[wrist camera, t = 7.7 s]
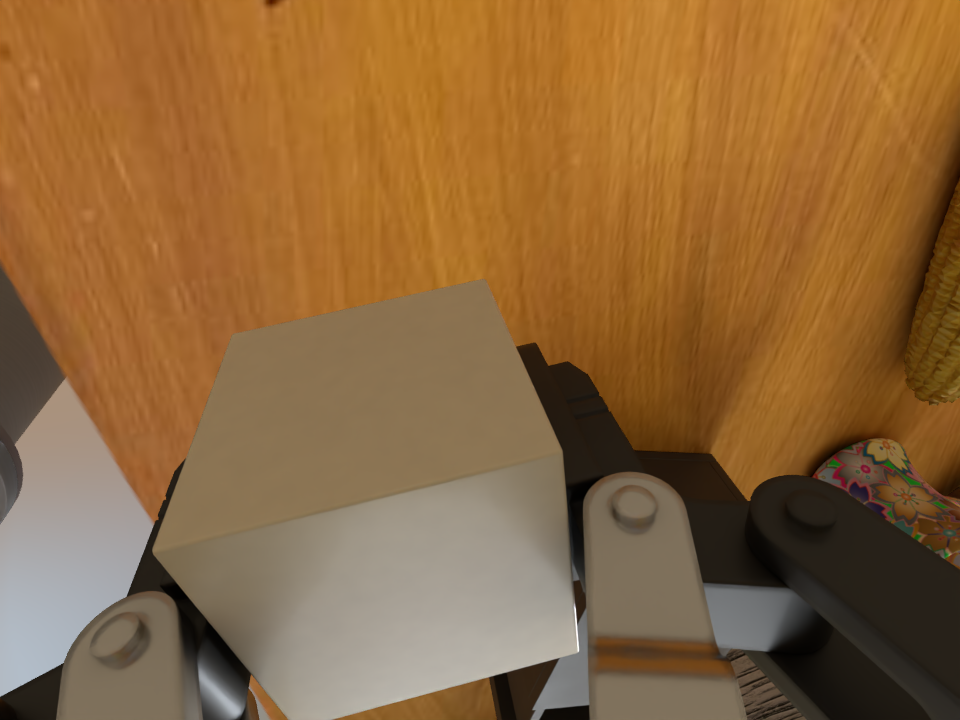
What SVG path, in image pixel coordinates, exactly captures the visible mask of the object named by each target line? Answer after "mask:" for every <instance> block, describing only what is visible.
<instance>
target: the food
mask: <svg viewBox="0 0 960 720" xmlns="http://www.w3.org/2000/svg"><path fill="white" fill-rule="evenodd" d="M933 252H934V257H933V258H932V259H931V260H930V264H931V265H930V266H928V268H929V271H928V272H927V273H926V274H925V275H926V279H925V283H924V284H925V285H924V289H923V292H922V293H921V295H920V297H919V299H918V301H917V302H918V304H917V306H916V308H915V309H916V311H915V313H916V314H915V316H914V318H913V321H912V326H911V334H909V339H908V344H907V349H906V354H905V359H904V362H905V370H904V371H905V374H906V375H907V377H908V378H907V379H906V380H905V382H906V384H907V386H908V387H909V389H912V390H913V391H915V397H916V398H918V399H919V400H921V401H929V405H938V403H942V402H943V403H946V402H947V401H948V400H949V401H950V402H951V403H952V402H954V401H955V400H957V399H958V398H960V179H959V182H958V184H957V186H956V188H955V192H954V195H953V197H952V200H951V202H950V205H949V208H948V211H947V214H946V216H945V218H944V223H943V224H942V226H941V229H940V231H939V234H938V238H937V241H936V243H935V249H934V250H933Z"/></svg>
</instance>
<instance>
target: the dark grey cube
mask: <svg viewBox="0 0 960 720" xmlns="http://www.w3.org/2000/svg"><path fill="white" fill-rule="evenodd" d="M635 453H636V455H637V456H638V458H639V460H640V461H641V463H642V465H643V466H644V468H645V469H646V471H647V472H648V473H649V475H651V476H654V477H656V478H658V479H661V480H663V481H664V482H666V483H667V484H669V485H670V486H671V487H672V488H673V489H675V491H676V492H677V493H678V494H680V495H683V496H687V497H691V498H696V499H705V500H731V501H747V500H746V499H745V497H744V496H743V495H742V493H741V492H740V491H739V489H738V488H737V487H736V486H735V484H734V483H733V482H732V480H731V479H730V478H729V476H728V475H727V474H726V472H725V471H724V470H723V469H722V467H721V466H720V465H719V463H718V462H717V461H716V459H715V458H714V457H713V456H712V454H698V453H674V452H651V451H635ZM573 583H574V595H575V607H576V619H577V632H578V644H579V652H578V653H576V654H572V655H568V656H564V657H561V658H557V659H553V660H550V661H546V662H542V663H539V664H535V665H531V666H528V667H524V668H522V672H523V676H524V680H525V684H526V688H527V692H528V697H529V701H530V705H531V710H542V709H553V708H563V707H573V706H583V705H589V685H588V636H587V609H586V596H585V593H584V590H583V588H582V585H581V582H580V580H576V581H573ZM718 649H719V651H720V653H721V655H722V656H726V655H727V653H728V652H729V651H730V650H731V648H720V647H718Z"/></svg>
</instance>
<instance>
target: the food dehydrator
mask: <svg viewBox="0 0 960 720" xmlns="http://www.w3.org/2000/svg"><path fill="white" fill-rule="evenodd" d="M726 657H727V658H728V659H729V661H730V662H731V665H732V667H733V669H734V672H735V674H736V677H737V681H738V684H739V687H740V691H741V695H742V699H743V703H744V707H745V711H746V716H747V720H806V719H805V718H804V716H803V715H802V714H801V713H800V712H799V711H798V710H797V709H796V708H795V707H794V706H793V705H792V704H791V703H790V701H789V700H788V699H787V698H786V697H785V696H784V695H783V694H782V693H781V692H780V691H779V690H778V689H777V687H776V686H775V685H774V684H773V683H772V682H771V681H770V680H769V679H768V678H767V677H766V676H765V675H764V674H763V672H762V671H761V670H760V669H759V668H758V667H757V666H756V665H755V664H754V663H753V662H752V661H751V660H750V658H749V657H748V656H747V655H746V654H745V653H744V652H743V651H742V650H741V649H732V648H731V650H730V651H729V652H728V653H727V655H726Z"/></svg>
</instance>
